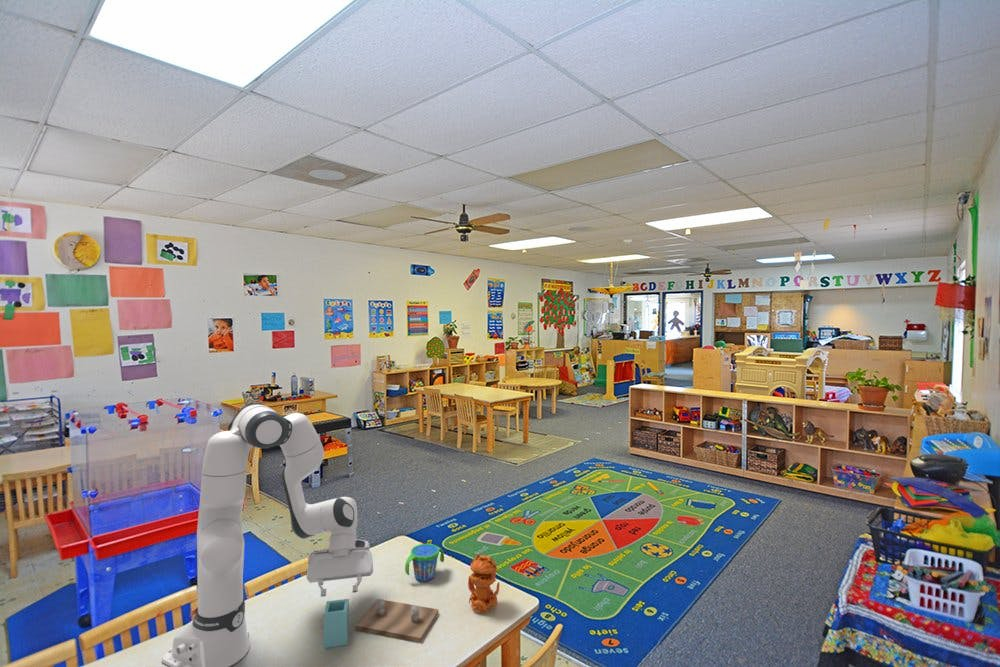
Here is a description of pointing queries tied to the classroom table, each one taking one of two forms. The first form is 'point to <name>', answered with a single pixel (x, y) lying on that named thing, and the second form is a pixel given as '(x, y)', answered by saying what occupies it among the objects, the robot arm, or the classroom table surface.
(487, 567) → the orange animal figurine
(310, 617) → the classroom table surface
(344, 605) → the sleeve block
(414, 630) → the pin plate
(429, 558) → the snack cup
